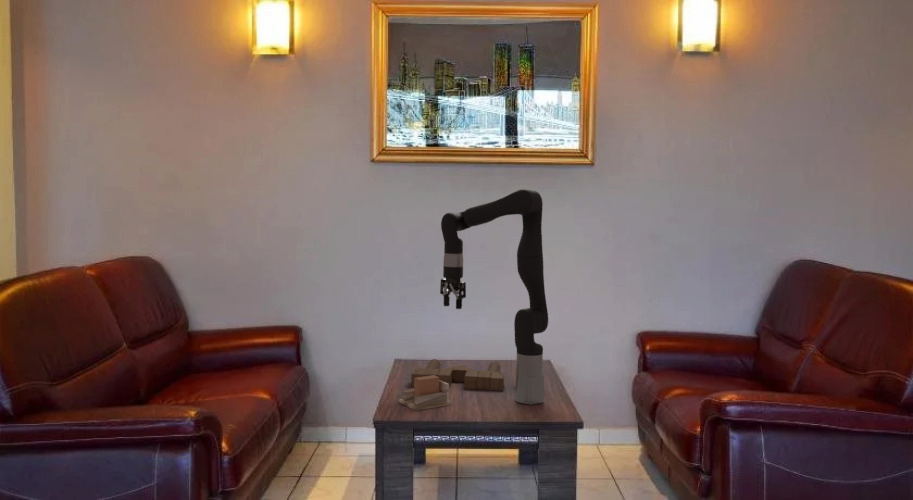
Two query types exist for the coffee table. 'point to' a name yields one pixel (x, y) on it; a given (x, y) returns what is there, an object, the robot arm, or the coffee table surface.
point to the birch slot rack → (427, 398)
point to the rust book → (426, 385)
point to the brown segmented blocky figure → (464, 376)
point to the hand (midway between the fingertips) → (452, 307)
